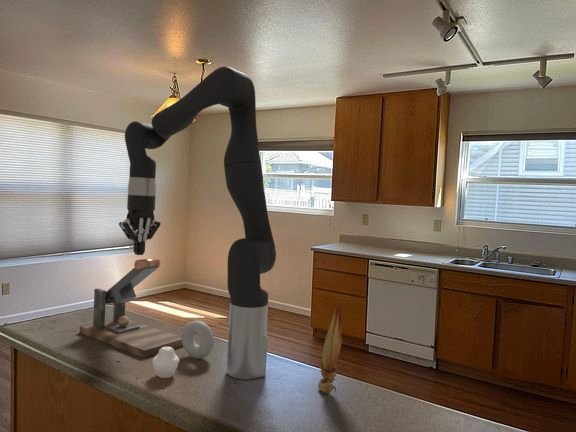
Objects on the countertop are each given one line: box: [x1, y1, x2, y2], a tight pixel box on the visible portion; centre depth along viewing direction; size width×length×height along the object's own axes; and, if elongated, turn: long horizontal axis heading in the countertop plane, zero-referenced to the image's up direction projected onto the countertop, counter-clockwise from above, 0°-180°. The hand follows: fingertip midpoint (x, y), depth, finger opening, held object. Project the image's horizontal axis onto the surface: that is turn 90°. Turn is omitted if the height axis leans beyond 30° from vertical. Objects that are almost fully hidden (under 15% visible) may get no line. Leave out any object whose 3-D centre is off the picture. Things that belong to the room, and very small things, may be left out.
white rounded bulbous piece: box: [152, 346, 180, 379], centre depth 106 cm, size 6×6×7 cm
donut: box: [181, 320, 215, 360], centre depth 118 cm, size 10×4×10 cm, turn 61°
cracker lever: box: [105, 257, 161, 305], centre depth 131 cm, size 24×6×6 cm
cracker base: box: [79, 288, 183, 359], centre depth 130 cm, size 30×14×13 cm, turn 55°
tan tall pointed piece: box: [317, 306, 343, 395], centre depth 100 cm, size 7×5×20 cm
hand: (139, 254), depth 128 cm, fingers closed
